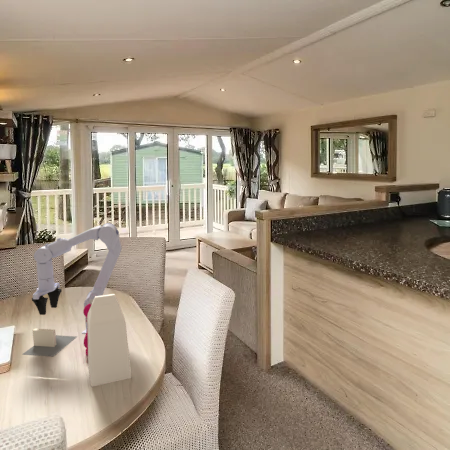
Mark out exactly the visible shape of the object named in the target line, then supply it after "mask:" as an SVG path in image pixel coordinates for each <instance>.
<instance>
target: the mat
mask: <svg viewBox="0 0 450 450" xmlns="http://www.w3.org/2000/svg"><path fill="white" fill-rule="evenodd" d="M76 338H77V336H75V335H73V336H72V335H58V334H57V335H56V346H54V347H47V346H34V345H33V346H31V347H30V348H29V349H27V350H26V351H24V352H22V355H26V356H39V357H55V356H56V355H57V354H58V353H60V352H61V351H62V350H63V349H64V348H66V347H67V346H68V345H69V344H71V343H72V342H73V341H74V340H75V339H76Z"/></svg>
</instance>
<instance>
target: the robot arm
mask: <svg viewBox="0 0 450 450" xmlns="http://www.w3.org/2000/svg"><path fill="white" fill-rule="evenodd" d="M120 238H121V237H120V232H119V230H118V228H117V227H116V225H115V224H114V223H110V222H106V223H104V224H103V225H102V224H100V225H97V226H94V227H92V228H91V227H90V228H89V229H87V230H84V231H83V232H80V233H79V234H76V235H75V236H73V237H70V238H66V237H62V238H61V237H58V238H57V239H56V240H55V241H53V242H50V243H48V242H47V243H45V244H44V245H43V246H41V247H39V248H38V249H37V250H35V251H34V254H33V259H34V261H36V262H35V263H36V272H37V273H36V274H37V286H38V287H36V289H35V290H36V291H35V292H34V293H33V294H32V297H31V301H32V302H33V304H34V305H35V307H36V308H37V311H38V313H39V315H40V316H41V315H42V316H45V315H46V313H47V302H48V300H49V305H50V307H51V308H52V309H54V308H55V309H57V307H58V302H59V299H60V295H61V293H62V288H61V285H60V282H55V277H54V264H53V259H56V258H57V257H60V256H62V255H64V254H67V253H69V252H71V250H72V248H73V247H75V246H76V245H79V244H83V243H84V242H86V241H89V240H94V241H98V240H100V241H101V242H102V243H103V244H104V245H105V246H106V248H107V250H108V252H107V254H106V257H105V259H104V261H103V263H102V265H101V269H100V271H99V274H98V275H97V278H96V280H95V283H94V285H93V287H92V289H91V290H90V291H89V292H88V293H87V295H86V298H85V300H84V302H83V308H84V307H85V306H86V305H88V304H90V303H89V301H90V300H91V299H93V300H94V297H95V296H102V295H104V292H105V290H106V288H107V285H108V282H109V280H110V278H111V276H112V273H113V271H114V269H115V266H116V265H117V261H118V259H119V257H120V255H121V252H122V248H123V247H122V246H123V245H122V243H121V242H122V241H121V239H120ZM45 295H48V297H44V296H45ZM85 318H86V316H85V315H84V320H85V329H84V330H83V331H82V332H81V334H83V335H84V334H85V335H86V333H87V329H88V327H87V323H86V319H85Z"/></svg>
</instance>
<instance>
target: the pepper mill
mask: <svg viewBox="0 0 450 450" xmlns="http://www.w3.org/2000/svg"><path fill="white" fill-rule="evenodd" d="M92 302H93V299H91V300H90V301H89V303H90V304H88V305H86V306H85V307H84V306H83V310H82V313H83V315H84V320H85V319H86V323H87V316H88V312H89V309H90V307H91V305H92ZM85 316H86V318H85ZM86 323H85V324H86ZM87 327H88V326H87ZM83 347H85V355H86V356H87V357H88V329H87V333H86V334H85V336H84V339H83Z"/></svg>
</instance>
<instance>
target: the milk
mask: <svg viewBox="0 0 450 450" xmlns="http://www.w3.org/2000/svg"><path fill="white" fill-rule="evenodd" d="M126 323H127V322H126V319H125V316H124V313H123V310H122V307H121V305H120V302H119V301H118V299H117V297H116V294H115V293H110V294H103V295H102V296H95V297H94V300H93V302H92V305H91V307H90V309H89V312H88V316H87V326H88V356H87V362H88V363H87V364H88V365H87V370H88V375H89V381H90V387H91V388H92V387H96V386H103V385H106V384H110V383H114V382H118V381H124V380H129V379H131V378H132V369H131V361H130V353H129V340H128V332H127V324H126Z"/></svg>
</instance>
